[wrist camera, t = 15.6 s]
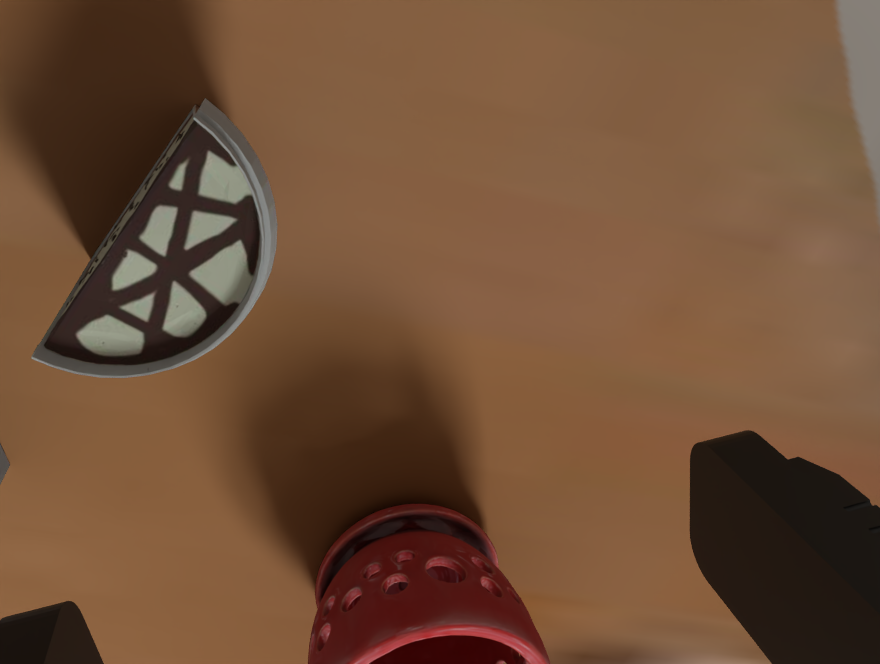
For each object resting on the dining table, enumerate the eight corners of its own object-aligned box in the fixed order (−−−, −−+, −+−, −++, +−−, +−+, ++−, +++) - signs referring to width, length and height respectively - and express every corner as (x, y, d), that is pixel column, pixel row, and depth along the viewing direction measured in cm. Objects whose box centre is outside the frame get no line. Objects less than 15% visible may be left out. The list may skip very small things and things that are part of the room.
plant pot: (358, 454, 46) (391, 593, 36) (532, 523, 51) (607, 662, 41) (258, 618, 50) (262, 790, 39) (432, 667, 55) (477, 832, 44)
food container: (184, 344, 41) (167, 441, 32) (74, 282, 39) (23, 369, 30) (320, 156, 39) (342, 204, 30) (212, 77, 37) (202, 104, 28)
